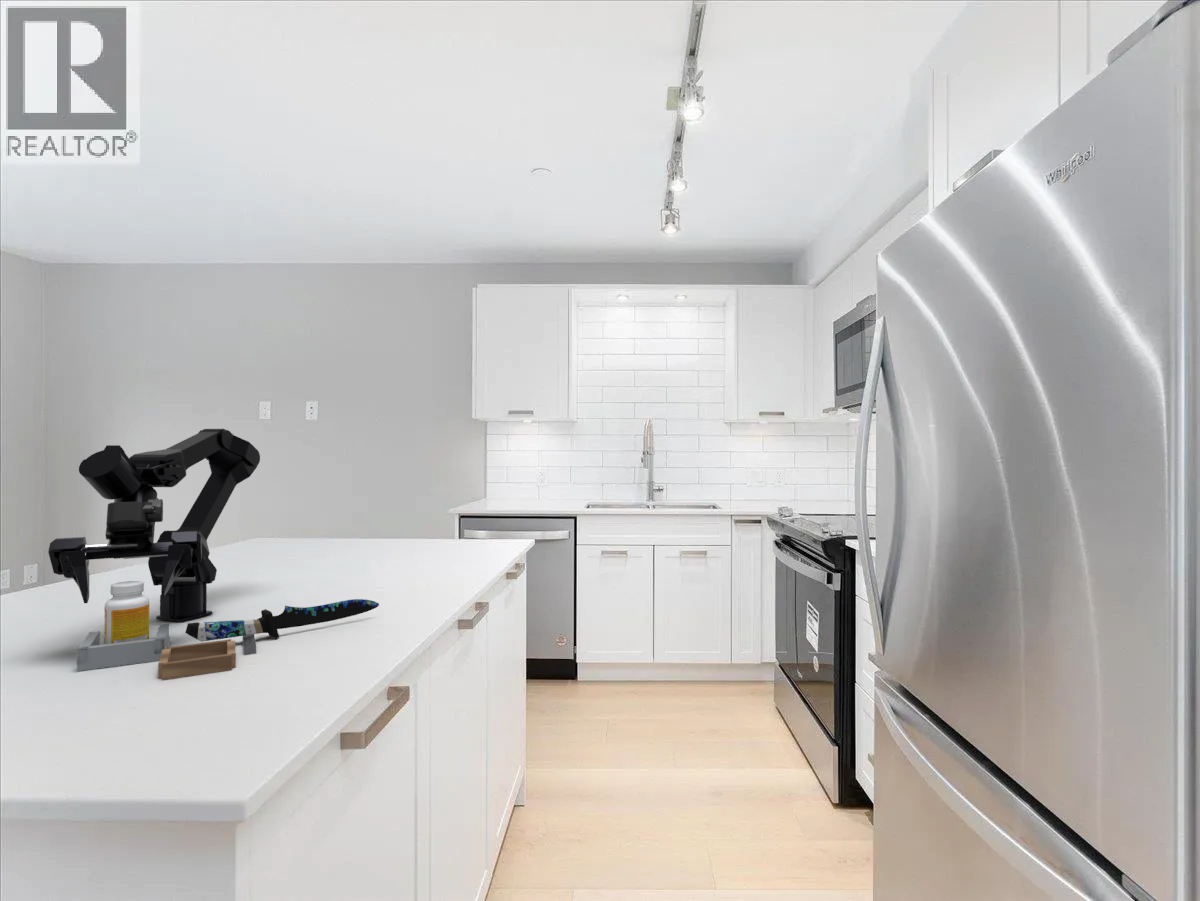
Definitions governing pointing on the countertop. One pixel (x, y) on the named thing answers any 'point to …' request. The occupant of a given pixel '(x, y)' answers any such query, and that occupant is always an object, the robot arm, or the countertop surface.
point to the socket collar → (197, 659)
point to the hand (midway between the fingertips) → (125, 598)
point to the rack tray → (120, 651)
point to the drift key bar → (249, 644)
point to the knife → (279, 620)
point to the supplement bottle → (126, 613)
